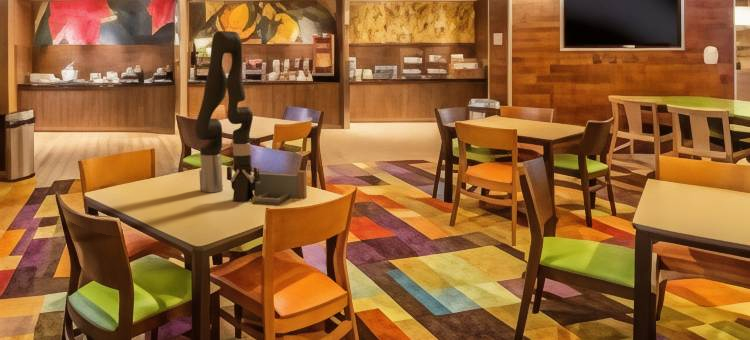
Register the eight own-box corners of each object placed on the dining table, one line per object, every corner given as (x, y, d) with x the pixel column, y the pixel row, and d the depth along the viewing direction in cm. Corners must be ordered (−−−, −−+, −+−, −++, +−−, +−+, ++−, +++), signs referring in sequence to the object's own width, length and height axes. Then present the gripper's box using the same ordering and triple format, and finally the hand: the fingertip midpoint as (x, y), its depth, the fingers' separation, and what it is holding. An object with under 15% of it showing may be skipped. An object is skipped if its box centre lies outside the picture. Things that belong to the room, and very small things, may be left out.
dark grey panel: (253, 195, 278) (252, 169, 275) (256, 194, 281) (255, 168, 279) (303, 199, 272) (303, 172, 270) (306, 197, 276) (306, 170, 274)
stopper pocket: (252, 203, 264) (252, 199, 264) (265, 196, 278) (265, 191, 277) (279, 205, 262) (279, 200, 261) (290, 197, 275) (290, 193, 275)
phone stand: (245, 202, 267) (244, 175, 264) (232, 201, 268) (231, 174, 265) (254, 197, 275) (253, 171, 273) (241, 196, 276) (240, 170, 274)
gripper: (222, 154, 265) (224, 191, 268) (253, 155, 262) (255, 192, 265) (230, 151, 273) (232, 187, 276) (260, 152, 269) (262, 189, 273)
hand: (243, 190), depth 270 cm, fingers open, 8 cm apart
